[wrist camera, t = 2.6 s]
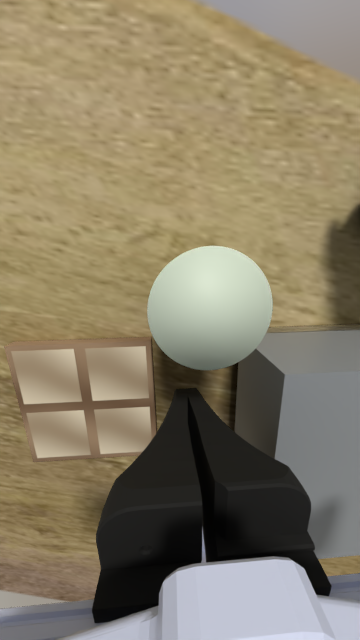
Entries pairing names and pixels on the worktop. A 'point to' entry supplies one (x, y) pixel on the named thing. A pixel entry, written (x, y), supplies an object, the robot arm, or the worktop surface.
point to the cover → (309, 424)
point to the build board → (85, 396)
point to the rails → (313, 328)
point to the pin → (210, 308)
